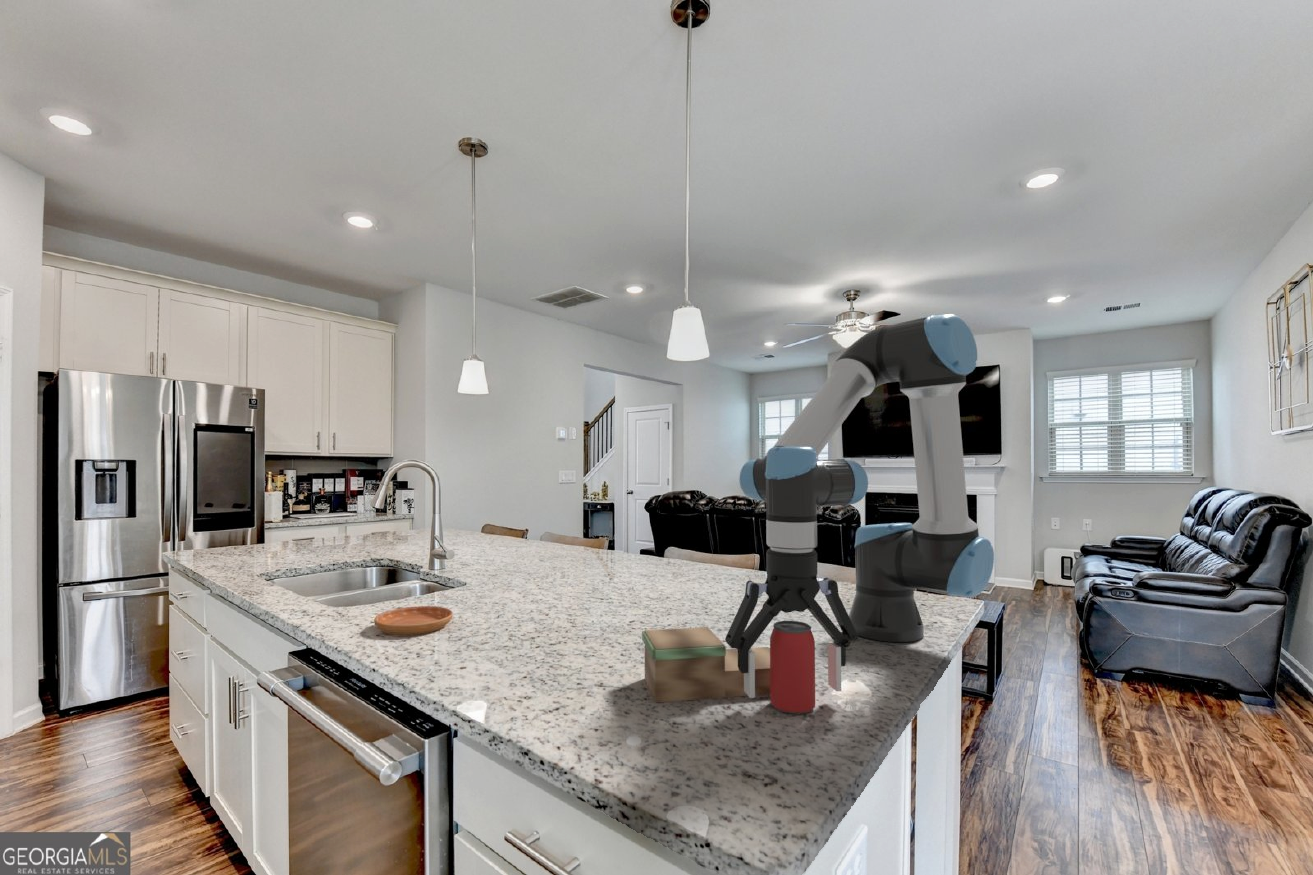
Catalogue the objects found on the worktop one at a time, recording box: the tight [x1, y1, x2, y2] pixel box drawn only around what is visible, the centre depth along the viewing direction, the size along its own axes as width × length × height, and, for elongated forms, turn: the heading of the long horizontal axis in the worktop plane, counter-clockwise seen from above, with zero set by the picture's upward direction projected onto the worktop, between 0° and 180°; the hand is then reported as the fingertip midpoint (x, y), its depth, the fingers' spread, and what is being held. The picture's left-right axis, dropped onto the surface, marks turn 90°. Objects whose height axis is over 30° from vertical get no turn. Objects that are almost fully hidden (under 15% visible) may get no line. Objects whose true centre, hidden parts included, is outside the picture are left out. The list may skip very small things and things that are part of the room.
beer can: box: [769, 620, 816, 715], centre depth 88 cm, size 7×7×12 cm
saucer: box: [373, 605, 454, 637], centre depth 129 cm, size 16×16×3 cm
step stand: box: [641, 626, 770, 703], centre depth 96 cm, size 22×10×8 cm, turn 101°
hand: (792, 691), depth 88 cm, fingers open, 13 cm apart
